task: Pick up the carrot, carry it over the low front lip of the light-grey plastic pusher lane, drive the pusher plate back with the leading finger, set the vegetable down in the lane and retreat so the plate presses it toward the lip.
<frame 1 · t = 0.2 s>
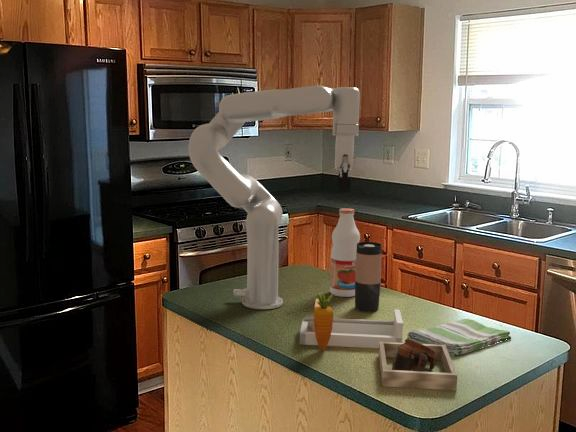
hand: (343, 188, 189), 37 cm above the counter, tool pointing down, fingers open, 9 cm apart
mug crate: (415, 371, 149), on the counter
carrot: (322, 351, 161), on the counter
pottery mug: (414, 372, 149), resting in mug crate
dish towel: (458, 340, 172), on the counter
travel mug: (366, 309, 195), on the counter
lane: (350, 339, 169), on the counter
pusher: (322, 320, 169), point 5 cm above the counter, slide at 0.0 cm
fruit juice: (344, 294, 211), on the counter
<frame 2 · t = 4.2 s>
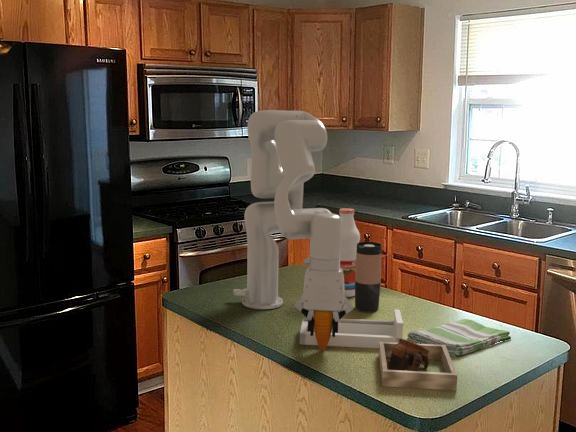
hand: (322, 333, 160), 4 cm above the counter, tool pointing down, fingers closed on carrot, 4 cm apart
carrot: (322, 351, 161), on the counter, touching gripper
pottery mug: (408, 372, 150), resting in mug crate
everything else where it was.
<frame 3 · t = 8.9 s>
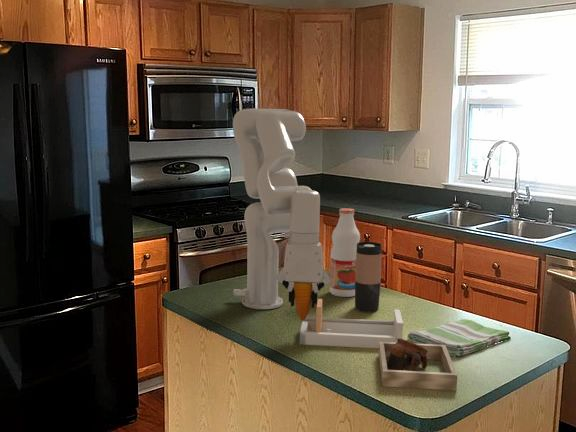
hand: (302, 304, 169), 9 cm above the counter, tool pointing down, fingers closed on carrot, 4 cm apart
carrot: (302, 321, 170), point 4 cm above the counter, touching gripper
pusher: (324, 320, 169), point 5 cm above the counter, slide at 0.6 cm, touching gripper
everything else where it was.
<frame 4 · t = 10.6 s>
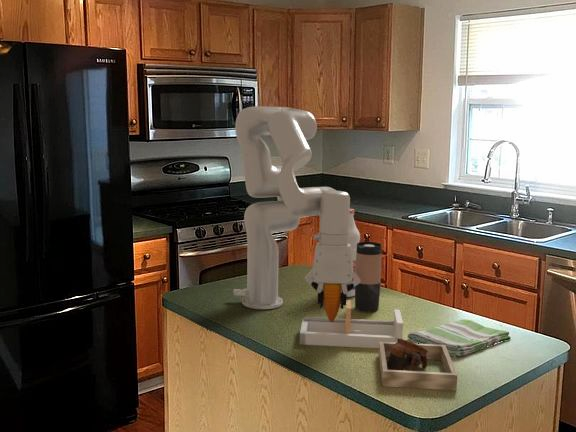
hand: (331, 306, 168), 9 cm above the counter, tool pointing down, fingers closed on carrot, 4 cm apart
carrot: (331, 323, 169), point 4 cm above the counter, touching gripper
pusher: (353, 321, 168), point 5 cm above the counter, slide at 8.2 cm, touching gripper
everything else where it was.
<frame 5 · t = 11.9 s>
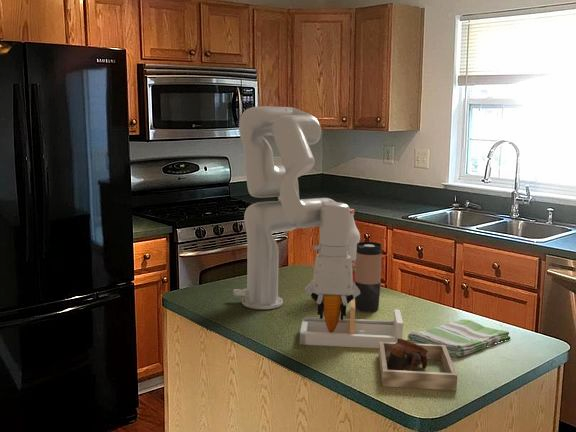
hand: (331, 317, 169), 6 cm above the counter, tool pointing down, fingers closed on carrot, 4 cm apart
carrot: (331, 333, 170), point 1 cm above the counter, touching gripper
pusher: (357, 321, 168), point 5 cm above the counter, slide at 9.2 cm, touching gripper
everything else where it was.
when the fingers open (6 cm above the counter, at t = 12.0 s): carrot drops 1 cm, resting in lane.
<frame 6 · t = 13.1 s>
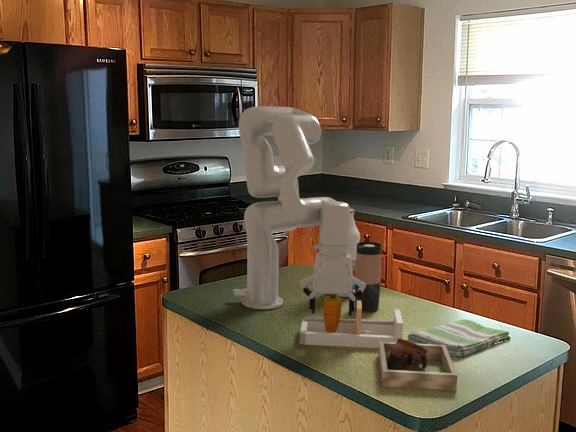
hand: (331, 313, 169), 7 cm above the counter, tool pointing down, fingers open, 9 cm apart
carrot: (330, 338, 170), resting in lane
pusher: (364, 322, 168), point 5 cm above the counter, slide at 10.9 cm, touching gripper
everything else where it was.
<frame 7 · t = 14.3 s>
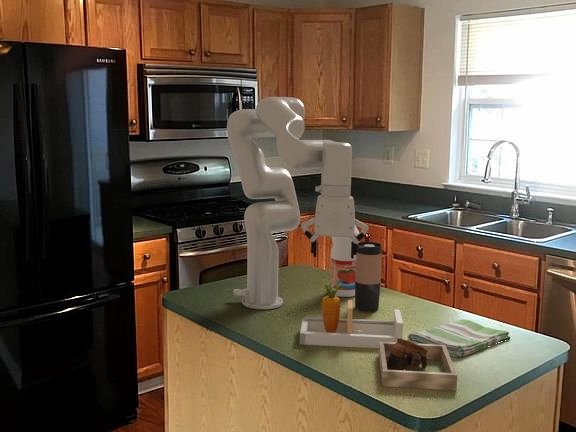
hand: (333, 256, 166), 22 cm above the counter, tool pointing down, fingers open, 9 cm apart
pusher: (355, 321, 168), point 5 cm above the counter, slide at 8.5 cm
everything else where it was.
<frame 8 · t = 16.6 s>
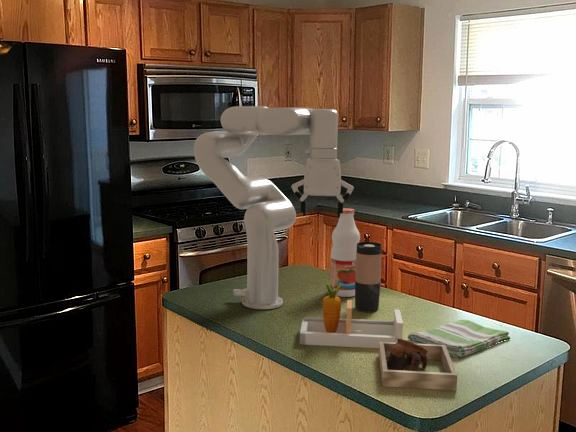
hand: (321, 215, 180), 30 cm above the counter, tool pointing down, fingers open, 9 cm apart
at the end: carrot inside the target area on the lane (0.8 cm from its centre), point 0.0 cm above the lane's base; carrot tilted 1°; the gripper is holding nothing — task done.
